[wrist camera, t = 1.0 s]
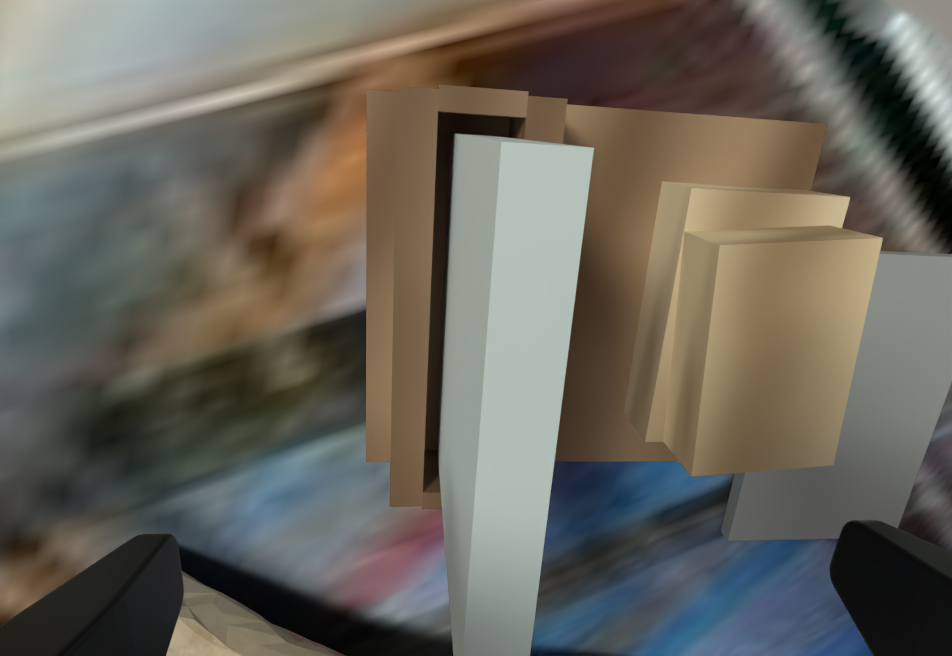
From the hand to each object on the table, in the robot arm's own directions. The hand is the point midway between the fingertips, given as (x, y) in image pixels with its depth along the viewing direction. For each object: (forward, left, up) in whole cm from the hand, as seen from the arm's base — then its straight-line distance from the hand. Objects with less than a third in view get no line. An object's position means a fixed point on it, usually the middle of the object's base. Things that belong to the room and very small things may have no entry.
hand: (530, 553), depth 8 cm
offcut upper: (-8, 0, -9) cm, 13 cm away
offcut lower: (-8, 0, -11) cm, 14 cm away
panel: (0, 0, -11) cm, 11 cm away
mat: (-15, +4, -12) cm, 20 cm away
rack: (-4, 0, -12) cm, 13 cm away
